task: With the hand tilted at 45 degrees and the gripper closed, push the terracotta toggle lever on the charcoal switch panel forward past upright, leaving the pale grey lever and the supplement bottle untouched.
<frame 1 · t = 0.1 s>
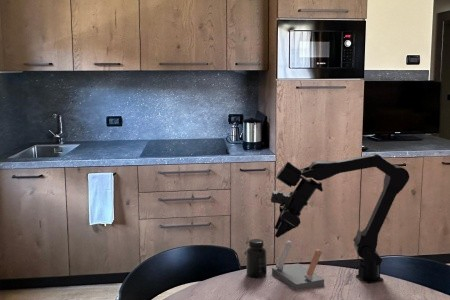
hand: (275, 232, 155), 15 cm above the table, tool tilted 35°, fingers open, 9 cm apart
switch panel: (297, 279, 153), on the table
supplement bottle: (256, 275, 157), on the table
terracotta lever: (313, 264, 147), point 7 cm above the table, hinge at -25.0°
pale grey lever: (284, 254, 156), point 7 cm above the table, hinge at -25.0°
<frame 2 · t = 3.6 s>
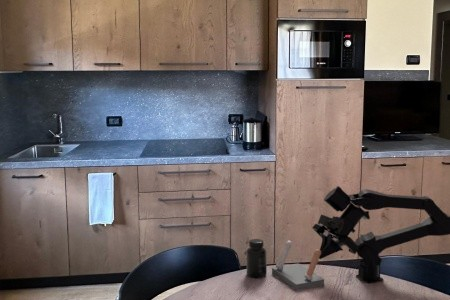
hand: (318, 258, 148), 9 cm above the table, tool tilted 45°, fingers closed, pressing on terracotta lever
terracotta lever: (313, 264, 147), point 7 cm above the table, hinge at -23.6°, touching gripper
everything else where it was.
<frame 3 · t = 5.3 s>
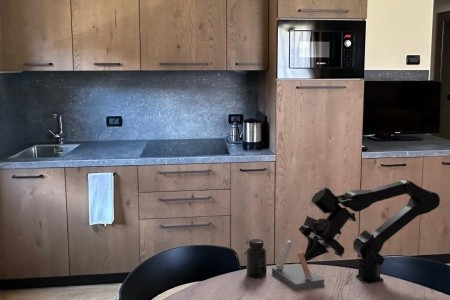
hand: (304, 260, 146), 9 cm above the table, tool tilted 45°, fingers closed, pressing on terracotta lever
terracotta lever: (304, 265, 146), point 7 cm above the table, hinge at 21.4°, touching gripper
everything else where it was.
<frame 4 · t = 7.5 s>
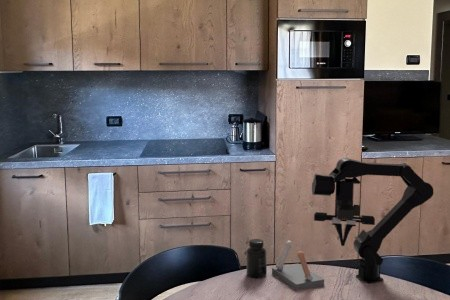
hand: (342, 245, 147), 13 cm above the table, tool tilted 15°, fingers closed
terracotta lever: (304, 265, 146), point 7 cm above the table, hinge at 21.5°
everything else where it was.
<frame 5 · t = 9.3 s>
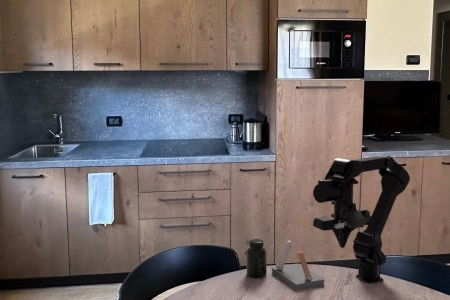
hand: (342, 247, 145), 13 cm above the table, tool pointing down, fingers closed
nothing on the table moved.
at the end: terracotta lever at +22° (first picture: -25°); pale grey lever at -25° (first picture: -25°); supplement bottle moved 0.2 cm from its start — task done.
